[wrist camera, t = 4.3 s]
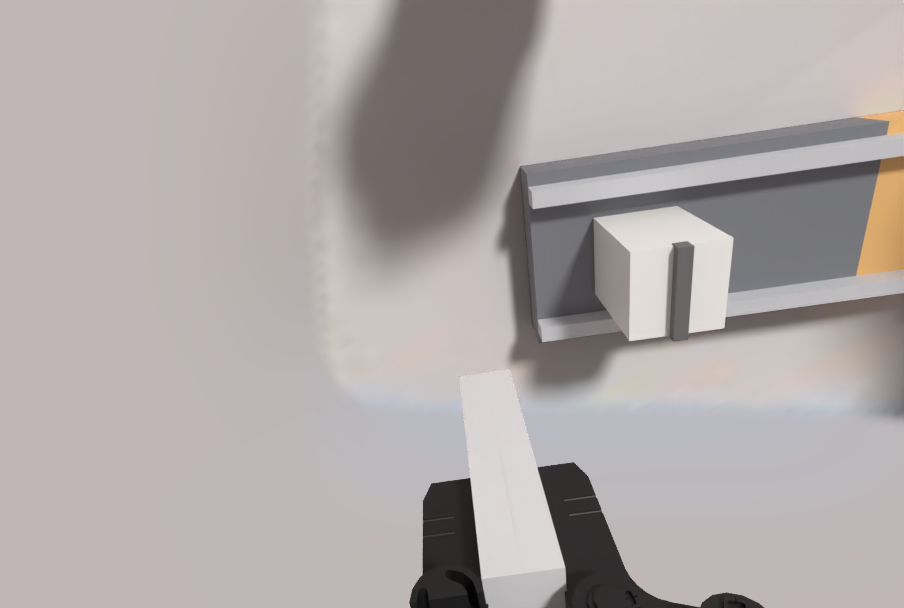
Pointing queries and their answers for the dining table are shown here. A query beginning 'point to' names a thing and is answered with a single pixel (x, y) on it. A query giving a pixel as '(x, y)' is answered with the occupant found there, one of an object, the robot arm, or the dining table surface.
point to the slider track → (731, 216)
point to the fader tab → (662, 272)
